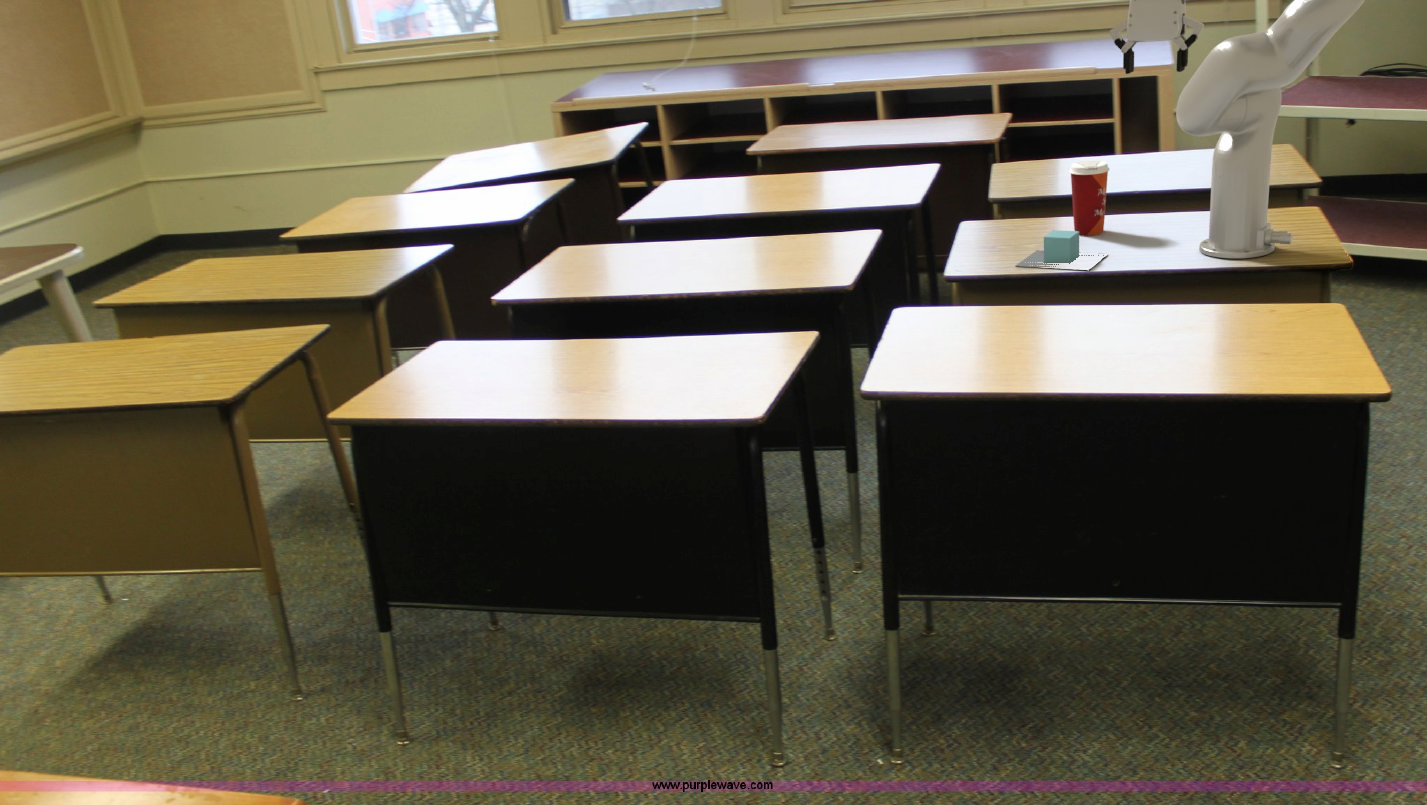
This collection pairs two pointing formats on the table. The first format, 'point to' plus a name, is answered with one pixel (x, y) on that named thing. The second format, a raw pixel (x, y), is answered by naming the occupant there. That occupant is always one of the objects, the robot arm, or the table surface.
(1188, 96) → the robot arm
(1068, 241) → the teal block
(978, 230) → the table surface
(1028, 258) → the slate mat
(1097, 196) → the paper cup
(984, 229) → the table surface
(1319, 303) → the table surface
